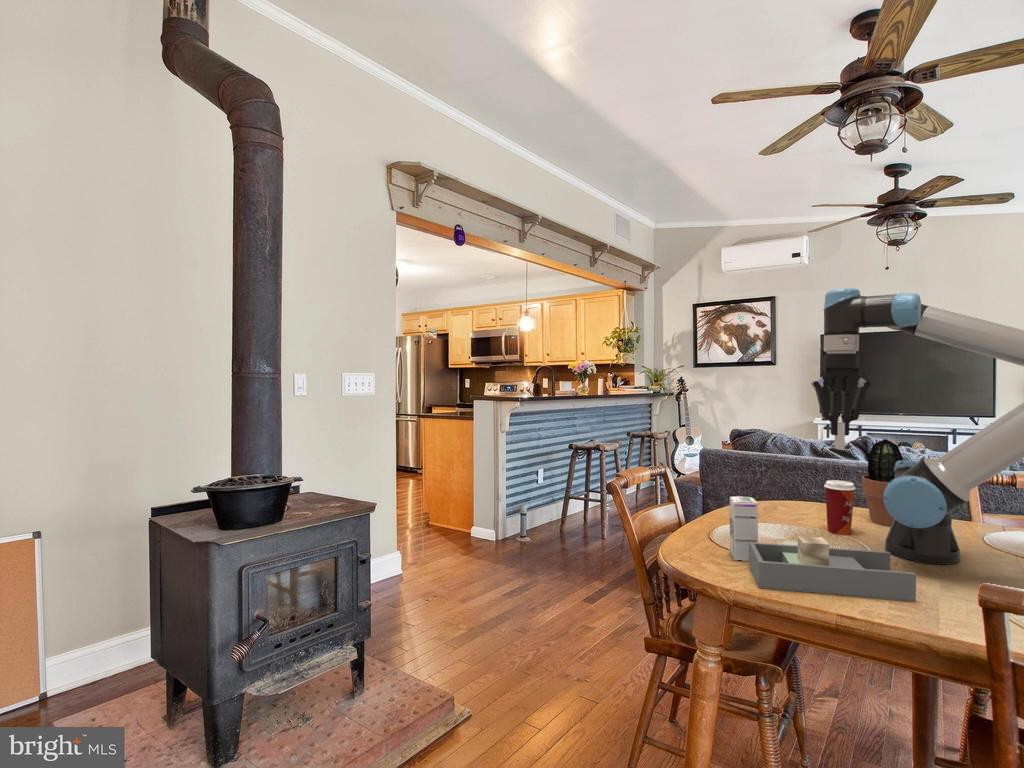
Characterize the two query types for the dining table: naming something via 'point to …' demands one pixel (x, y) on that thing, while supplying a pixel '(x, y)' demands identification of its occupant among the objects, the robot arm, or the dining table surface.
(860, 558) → the trap lane
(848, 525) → the paper cup
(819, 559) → the birch block
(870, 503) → the potted plant
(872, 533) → the dining table surface
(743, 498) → the syrup box
